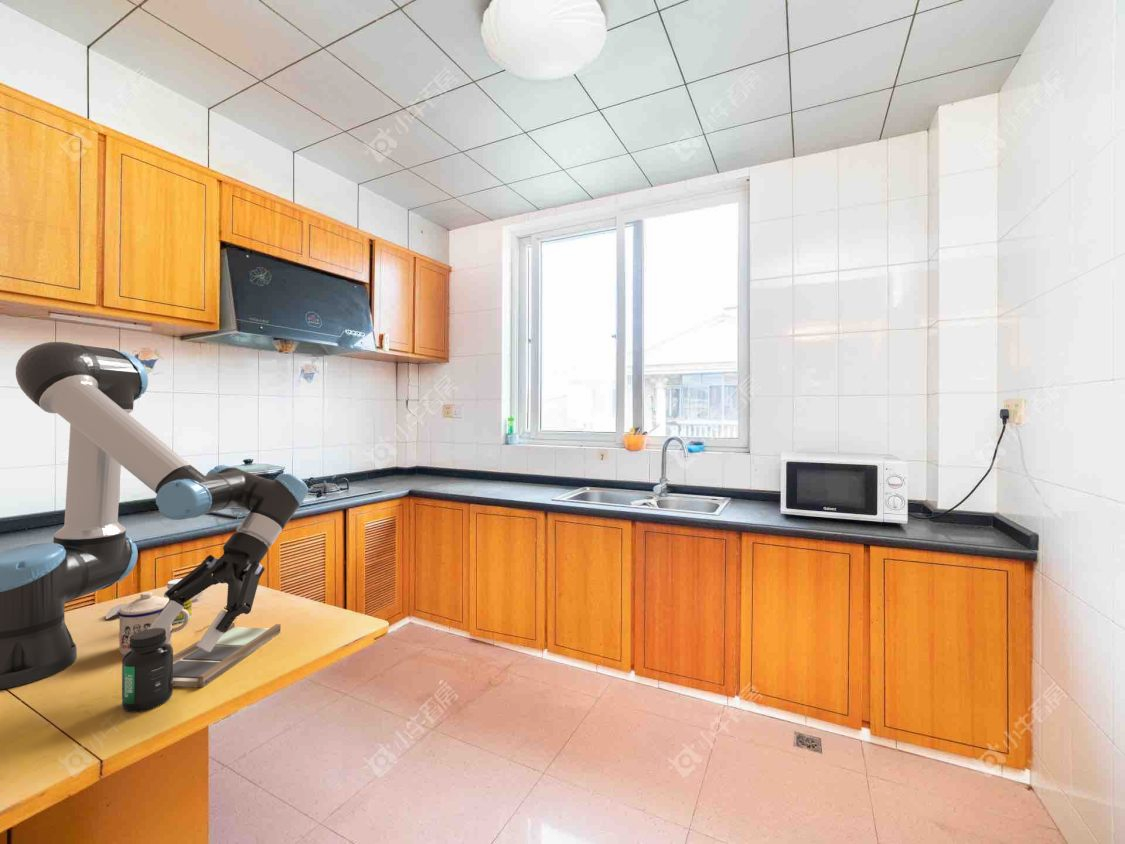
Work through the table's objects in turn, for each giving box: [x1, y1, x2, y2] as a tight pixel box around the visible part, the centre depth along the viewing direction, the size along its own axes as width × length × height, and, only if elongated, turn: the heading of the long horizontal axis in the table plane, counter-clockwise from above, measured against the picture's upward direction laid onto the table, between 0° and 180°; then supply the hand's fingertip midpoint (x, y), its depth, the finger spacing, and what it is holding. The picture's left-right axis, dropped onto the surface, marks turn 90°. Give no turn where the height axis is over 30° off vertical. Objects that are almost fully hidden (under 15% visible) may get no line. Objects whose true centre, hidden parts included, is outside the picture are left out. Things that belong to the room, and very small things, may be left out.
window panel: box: [173, 622, 281, 688], centre depth 103 cm, size 12×23×2 cm, turn 177°
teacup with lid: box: [117, 591, 190, 656], centre depth 107 cm, size 12×9×12 cm
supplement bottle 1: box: [121, 628, 174, 713], centre depth 87 cm, size 7×7×12 cm
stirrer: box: [105, 591, 205, 620], centre depth 128 cm, size 20×4×5 cm
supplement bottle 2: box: [163, 578, 193, 625], centre depth 121 cm, size 5×5×10 cm
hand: (176, 643), depth 90 cm, fingers open, 13 cm apart
